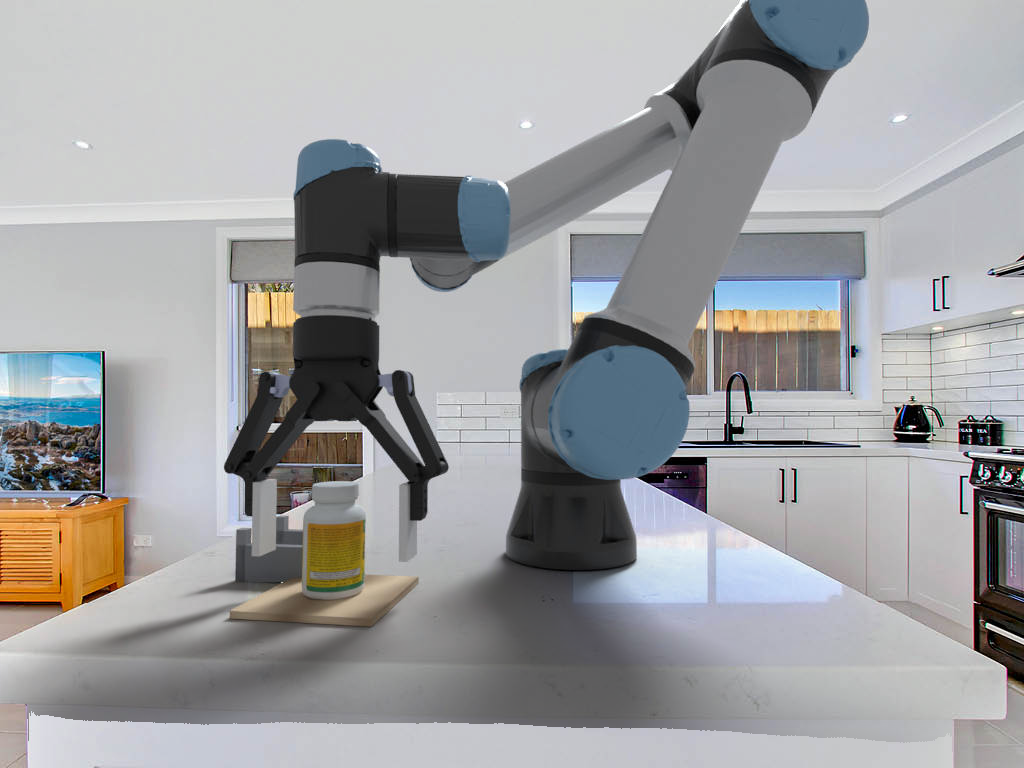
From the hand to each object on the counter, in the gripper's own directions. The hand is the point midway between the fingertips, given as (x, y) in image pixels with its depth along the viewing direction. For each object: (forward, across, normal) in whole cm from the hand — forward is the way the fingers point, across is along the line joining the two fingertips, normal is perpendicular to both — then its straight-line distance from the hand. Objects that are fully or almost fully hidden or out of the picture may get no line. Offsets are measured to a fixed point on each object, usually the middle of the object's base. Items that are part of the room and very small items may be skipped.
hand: (334, 555), depth 54 cm
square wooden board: (+4, 0, 0) cm, 4 cm away
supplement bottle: (+3, 0, 0) cm, 3 cm away
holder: (+4, +8, -8) cm, 12 cm away
